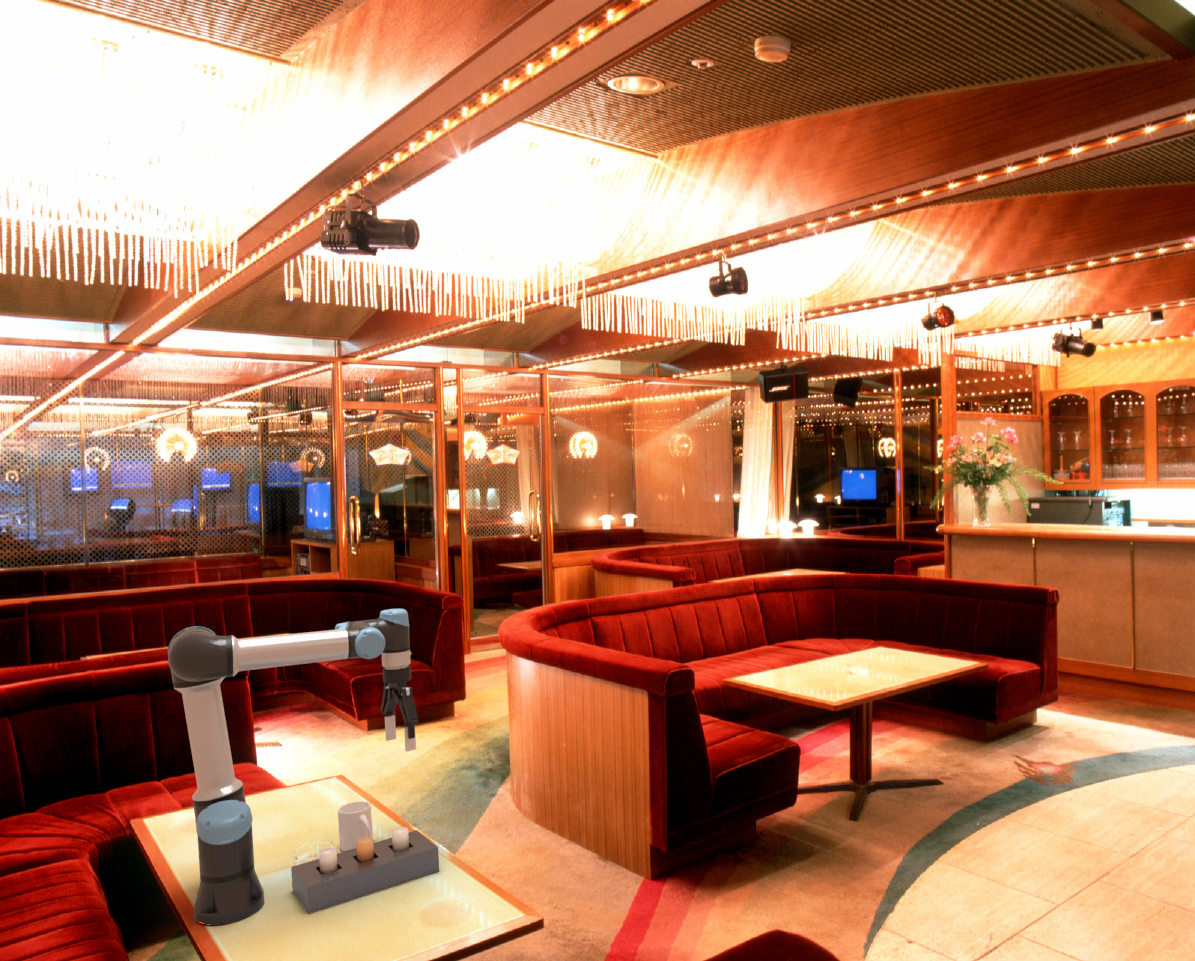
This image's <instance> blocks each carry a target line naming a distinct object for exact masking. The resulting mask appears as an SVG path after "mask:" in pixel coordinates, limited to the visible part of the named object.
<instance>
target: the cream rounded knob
mask: <svg viewBox="0 0 1195 961" xmlns="http://www.w3.org/2000/svg"><path fill="white" fill-rule="evenodd" d="M408 833H409V828H408V827H405V826H401V827H395V828H393V829H392V830H391V838H392V844H393V851H394V852H398V851H401V850H404V849H408V848H409V837H408Z"/></svg>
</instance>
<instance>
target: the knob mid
mask: <svg viewBox="0 0 1195 961" xmlns="http://www.w3.org/2000/svg"><path fill="white" fill-rule="evenodd" d="M373 843H374V837H373V838H371V837H364V838H361V839H358V840H357V841H356V846H357V862H358V863H361V862H365V861H368V860H371V859H374V846H373Z"/></svg>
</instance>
